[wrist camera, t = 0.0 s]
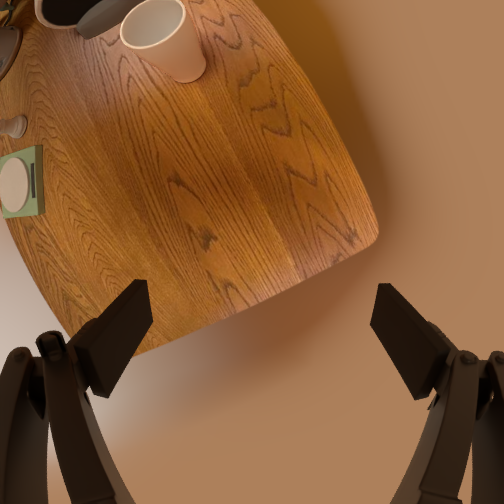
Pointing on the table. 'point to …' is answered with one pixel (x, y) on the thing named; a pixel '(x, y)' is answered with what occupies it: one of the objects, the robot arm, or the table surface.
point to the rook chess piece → (13, 126)
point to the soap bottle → (7, 7)
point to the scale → (22, 183)
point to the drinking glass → (165, 38)
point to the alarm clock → (83, 14)
